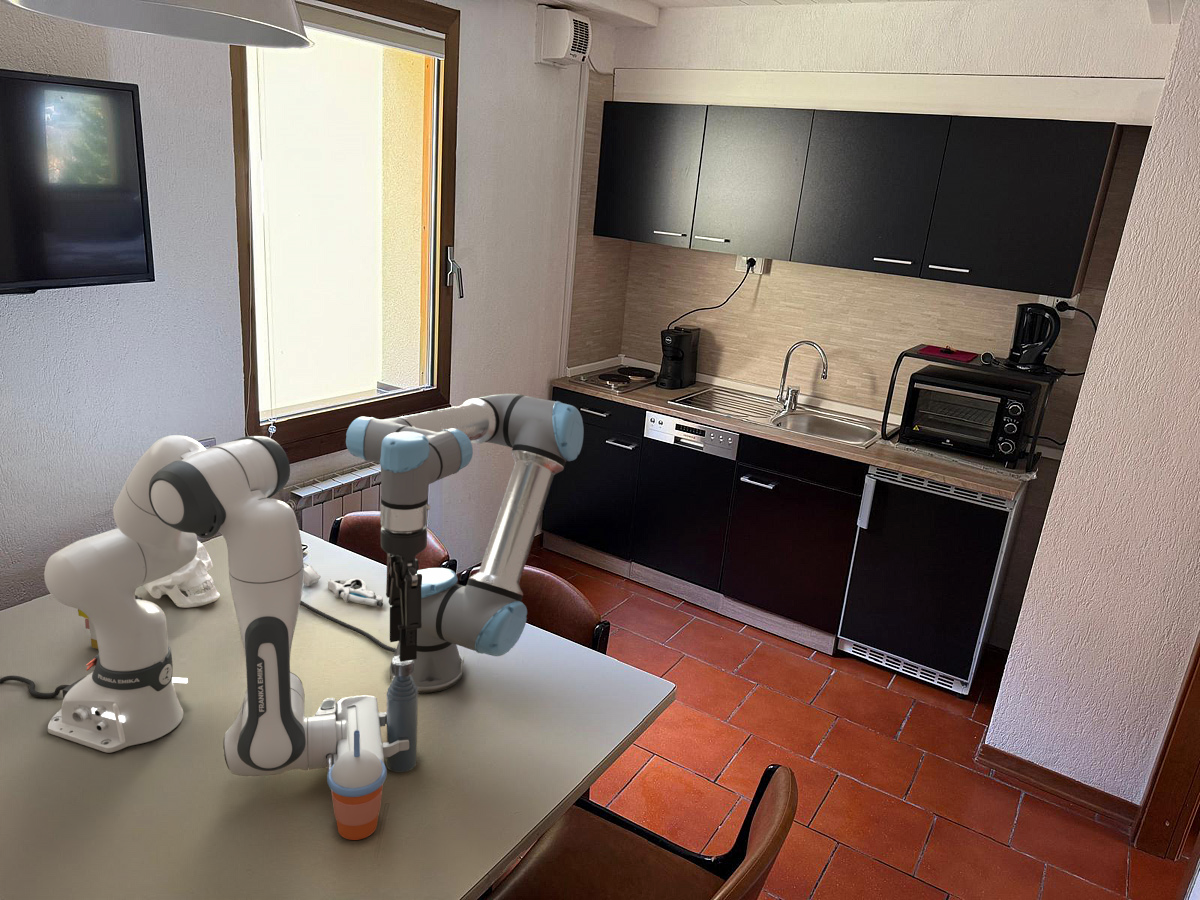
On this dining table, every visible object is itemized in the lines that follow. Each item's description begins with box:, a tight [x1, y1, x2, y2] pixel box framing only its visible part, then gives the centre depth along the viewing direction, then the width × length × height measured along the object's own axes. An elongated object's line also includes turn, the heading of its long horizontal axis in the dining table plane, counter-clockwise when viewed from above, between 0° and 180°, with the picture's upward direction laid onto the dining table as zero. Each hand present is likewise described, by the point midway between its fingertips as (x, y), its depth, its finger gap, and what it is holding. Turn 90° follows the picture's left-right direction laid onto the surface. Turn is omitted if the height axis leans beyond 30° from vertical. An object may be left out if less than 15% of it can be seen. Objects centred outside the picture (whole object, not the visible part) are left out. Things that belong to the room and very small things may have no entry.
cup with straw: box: [326, 730, 388, 841], centre depth 136 cm, size 9×9×18 cm
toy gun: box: [327, 578, 384, 608], centre depth 212 cm, size 18×2×10 cm
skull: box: [142, 540, 221, 609], centre depth 204 cm, size 13×22×16 cm, turn 73°
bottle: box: [385, 675, 419, 773], centre depth 152 cm, size 5×5×21 cm
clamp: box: [303, 562, 322, 587], centre depth 219 cm, size 20×4×7 cm, turn 62°
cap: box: [390, 655, 414, 677], centre depth 149 cm, size 4×4×2 cm
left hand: (407, 731), depth 153 cm, fingers closed on bottle, 5 cm apart
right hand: (402, 649), depth 148 cm, fingers open, 6 cm apart
